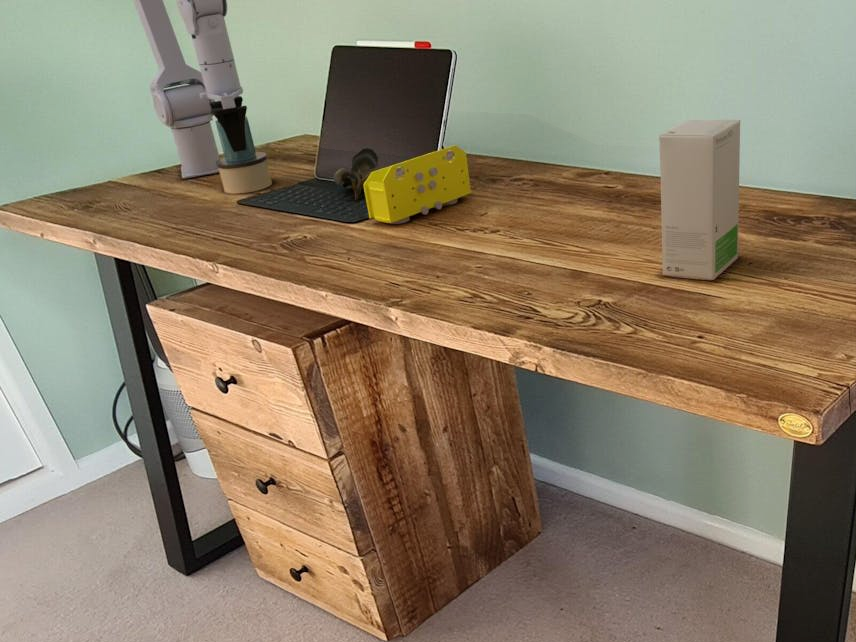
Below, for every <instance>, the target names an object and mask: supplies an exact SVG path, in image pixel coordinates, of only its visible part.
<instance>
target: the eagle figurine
mask: <svg viewBox="0 0 856 642" xmlns="http://www.w3.org/2000/svg"><path fill="white" fill-rule="evenodd" d="M378 162H379V157H378V155H377V152H375V150H373V148H368V147H365V148H362V149H361V150H360V151H359V152H356V154H355V155H353V157H352V158H351V166H350V171H349V170H348V169H347V168H346V167H342V168H340V169H338V170H337V171H336V172H334V173H335V174H334V175H333V181H334V184H336V185H337V186H339V185H340V187H344V188H347V189H348V190H349V189H351V190H353V192H354V199H355V201H357V200H358V198H359V197H360V195H361V193H362V190H363V189H364V186H363V184H364V183H365V181H366V180H367V178H368V177H369V175H370V174H371V172H373V171H374V169H376V168H377V167H378V165H379V164H378Z"/></svg>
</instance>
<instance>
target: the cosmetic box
mask: <svg viewBox="0 0 856 642" xmlns="http://www.w3.org/2000/svg"><path fill="white" fill-rule="evenodd" d="M658 140H659V170H660V171H659V173H660V174H659V175H660V201H661V202H660V211H661V213H660V214H661V256H662V257H661V258H662V259H661V260H662V263H661V264H662V274H661V275H662V276H665V277H666V276H667V277H673V278H681V279H682V278H683V279H691V280H703V281H714V280H715V279H717V277H719V276H720V275H721V274H722V273H723V272H724V271H725V270H726V269H728V268H729V267H730V266H731V265H732V264H733V263H735V262H736V261H737V260H738V258H739V227H740V226H739V221H740V217H739V216H740V165H741V164H740V161H741V160H740V159H741V158H740V157H741V156H740V154H741V153H740V152H741V144H740V143H741V119H689V120H686V121H684V122H682V123H680V124H678V125H673V126H671V127H670V128H669V129H668V130H666V131H664V132H662V133H659V135H658Z"/></svg>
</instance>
